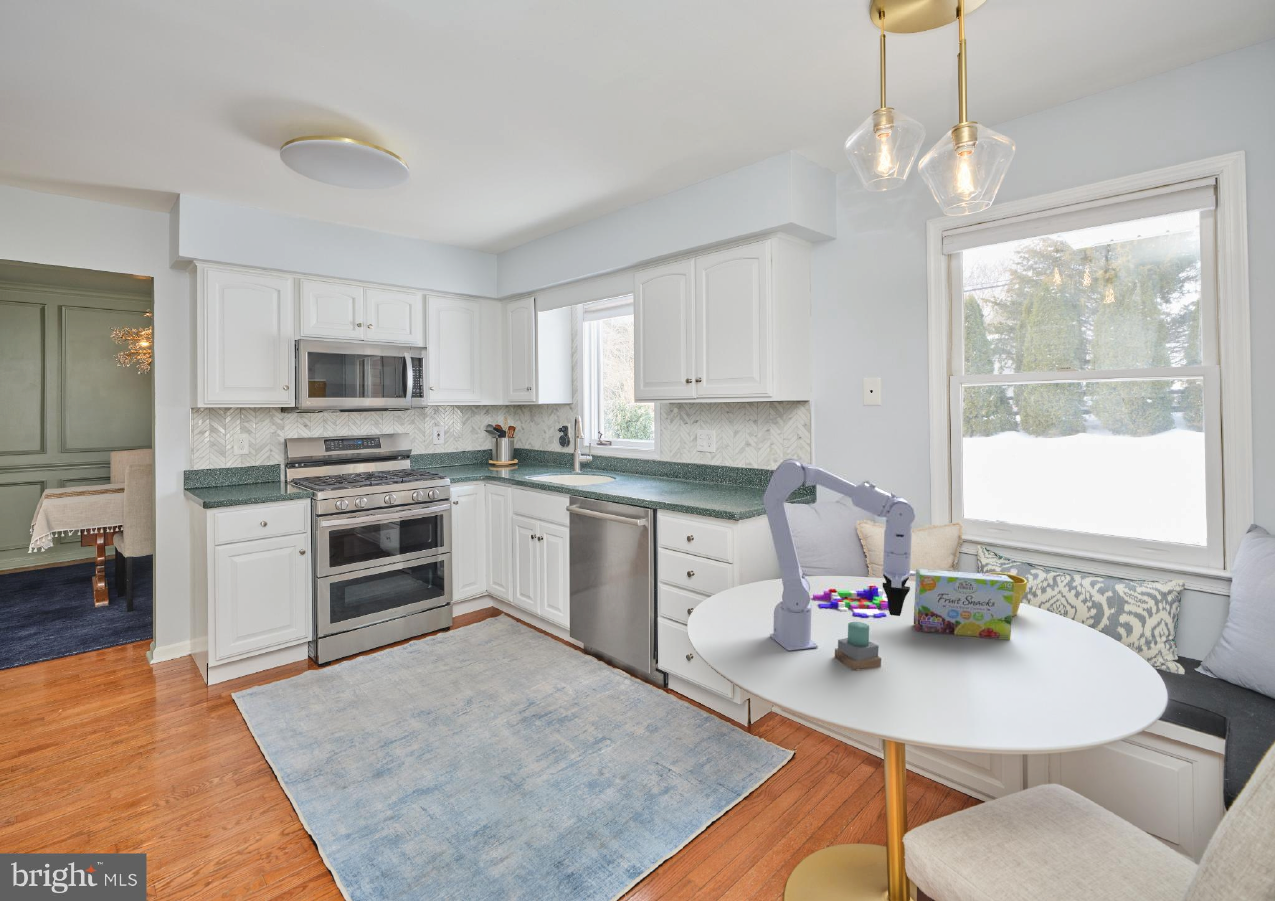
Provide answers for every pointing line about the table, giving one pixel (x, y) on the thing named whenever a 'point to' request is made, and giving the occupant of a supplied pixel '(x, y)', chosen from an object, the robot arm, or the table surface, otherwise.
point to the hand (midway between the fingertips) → (894, 609)
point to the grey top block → (858, 650)
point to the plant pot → (1016, 590)
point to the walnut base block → (857, 664)
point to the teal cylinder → (858, 634)
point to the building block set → (844, 602)
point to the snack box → (963, 603)
